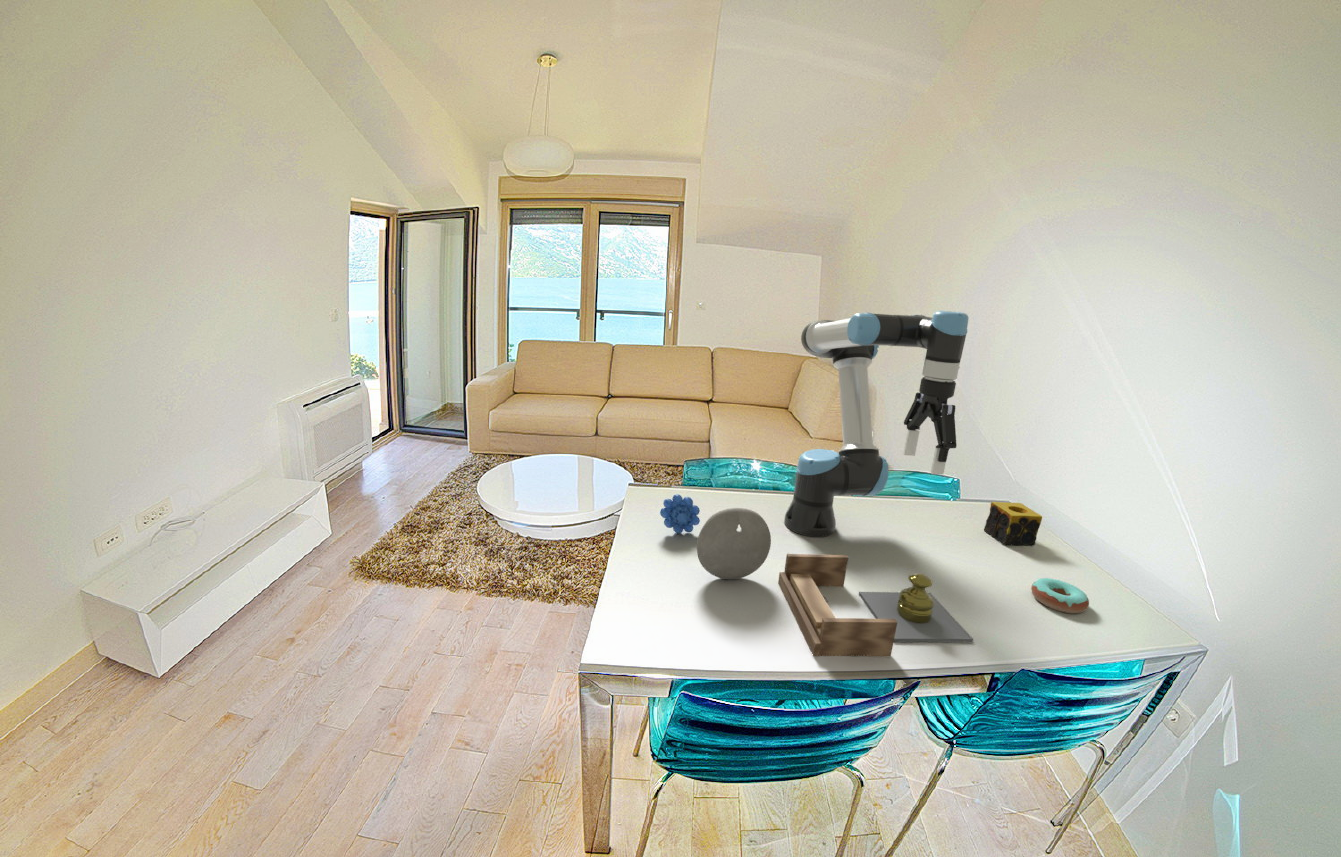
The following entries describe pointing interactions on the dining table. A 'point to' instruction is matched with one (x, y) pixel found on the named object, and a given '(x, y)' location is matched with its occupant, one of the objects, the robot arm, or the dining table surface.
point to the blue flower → (680, 514)
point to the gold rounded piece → (916, 599)
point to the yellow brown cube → (1013, 524)
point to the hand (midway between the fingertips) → (922, 464)
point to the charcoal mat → (934, 630)
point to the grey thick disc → (733, 543)
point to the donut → (1060, 595)
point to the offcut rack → (818, 618)
